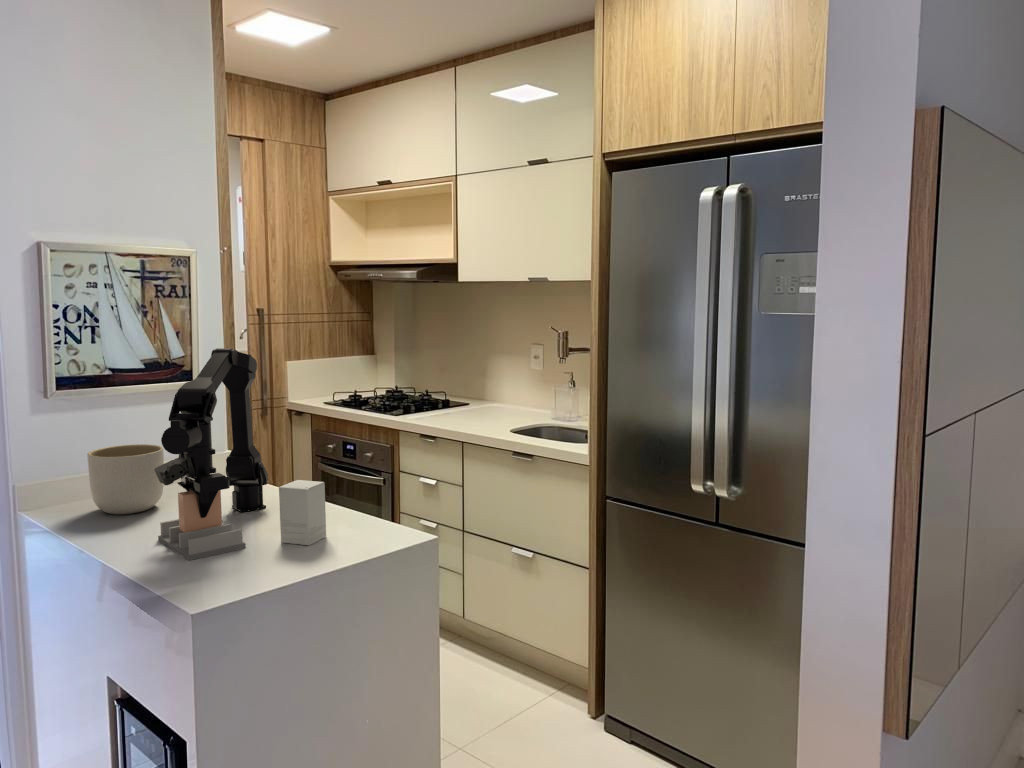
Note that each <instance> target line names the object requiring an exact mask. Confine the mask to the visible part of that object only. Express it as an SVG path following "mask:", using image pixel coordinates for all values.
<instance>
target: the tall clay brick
mask: <svg viewBox="0 0 1024 768" xmlns="http://www.w3.org/2000/svg"><path fill="white" fill-rule="evenodd" d="M221 493H222V491H221V490H219V491H218V493H217V495H216V497H215V499H214V501H213V503H212V505H211V507H210V509H209V512H208V514H207V516H206V517H204V518H201V517H200V513H199V508H198V503H197V498H196V495H195V494H194V493H193V492H191V491H183V492H182V491H181V492H177V500H178V501H177V503H178V505H177V506H178V519H179V528H180V530H181V531H183V532H189V531H194V530H199V529H204V528H209V527H214V526H219V525H223V519H222V518H223V517H222V495H221Z"/></svg>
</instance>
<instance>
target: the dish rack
mask: <svg viewBox="0 0 1024 768" xmlns="http://www.w3.org/2000/svg"><path fill="white" fill-rule="evenodd" d="M232 524H233V523H227V524H222V525H219V526H214V527H209V528H204V529H199V530H194V531H189V532H183V531H181V530H180V528H179V518H177V519H172V520H171V519H170V520H166V521H161V522H160V534H159V535H157V539H158V541H159V542H160V543H162V544H163V545H165V546H166V547H168V548H169V549H170V550H173V551H174V552H175V553H176V554H178V555H179V556H180V557H182V558H184V559H185V560H187V561H193V560H198V559H201V558H202V559H203V558H207V557H211V556H215V555H216V556H217V555H221V554H225V553H228V552H233V551H238V550H242V549H243V550H244V549H246V542H244V541H243V529H241V528H239V529H233V528H232V526H233V525H232Z"/></svg>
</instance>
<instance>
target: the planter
mask: <svg viewBox="0 0 1024 768" xmlns="http://www.w3.org/2000/svg"><path fill="white" fill-rule="evenodd" d="M164 457H165V455H164V447H163V446H161V445H157V444H145V443H144V444H143V443H142V444H140V443H139V444H135V443H134V444H122V445H120V444H119V445H114V446H107V447H100V448H97V449H92V450H91V451H89V452H88V453H87V463H88V464H87V467H88V478H89V487H90V488H89V489H90V494H91V497H92V501H93V503H94V505H95V506H96V507H97V508H98V509H100V510H101V511H103V512H104V513H107V514H110V515H130V514H131V515H132V514H137V513H141V512H145V511H147V510H150V509H152V508H153V507H154V506H155V505H157V503H158V502H159V501H160V500H161V498H162V496H163V493H164V486H165V485H164V484H163V483H160V481H159V479H158V477H157V475H156V473H155V471H154V469H155V468H157V467H159V466H161V465H163V464H165V460H164Z"/></svg>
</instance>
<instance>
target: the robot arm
mask: <svg viewBox="0 0 1024 768" xmlns="http://www.w3.org/2000/svg"><path fill="white" fill-rule="evenodd" d="M257 370H258V363H257V360H256V358H254V357H253V356H252V354H248V353H243V352H240V351H238V350H236V349H233V348H228V347H227V348H221V347H220V348H214V349H212V351H211V354H210V357H209V359H208V361H206V363H205V364H204V366H203V368H202V369H201V370H200V372H199V373H198V375H197V376H196V377H195V378H194V379H192V380H190V381H187V382H185V383H184V384H182V385H181V387H179V388H178V389H177V392H176V393H175V395H174V398H173V401H172V405H171V409H170V413H169V416H168V421H169V422H170V426H169V427H168V428H166V429H165V430H164V431H163V433H162V435H161V439H160V440H161V441H160V442H161V445H162V447H163V450H165V451H166V452H167V453H169V454H172V455H178V457H176V458H174V459H171V460H169V461H167V462H164V464H163V465H161V466H159V467H157V468H155V469H154V471H155V473H156V475H157V477H158V479H159V481H160V483H163V484H164V486H169V485H172V484H173V483H174V482H175V481H177V480H179V479H180V481H178V482H177V483H176V484H177V485H179V486H180V487H182V488H183V489H184V490H186V491H185V492H187V491H191V492H193V493H194V494H195V495H196V498H197V503H198V508H199V513H200V517H201V518H204V517H206V516H207V514H208V512H209V509H210V507H211V505H212V503H213V501H214V499H215V497H216V495H217V493H218V491H219V490H228V489H230V487H232V486H233V491H232V492H231V495H232V496H231V499H232V504H231V508H232V509H234V510H236V511H239V512H241V513H244V512H250V511H256V510H260V509H261V510H262V509H266V508H267V505H265V504H264V496H263V495H264V494H263V493H264V491H263V488H264V487H263V486H266V485H268V480H269V477H268V476H269V474H268V471H267V469H266V468H265V465H264V463H263V462H262V456H261V453H260V452H259V450H258V448H257V447H255V445H254V440H253V439H254V438H253V423H252V421H253V420H252V407H251V396H250V395H251V393H250V389H251V386H252V385H253V383H254V381H255V380H256V373H257ZM222 384H223V385H224V386H225V388H226V389H227V390H228V393H229V406H230V407H229V408H230V409H229V410H230V420H231V435H232V450H231V451H230V453H229V454H228V456H227V457H226V459H225V462H226V465H225V474H226V475H224V474H222V473H219V472H217V468H216V467H214V466H213V464H214V463H213V455H216V449H215V448H213V446H212V442H213V441H212V421H213V420H214V418H213V413H214V412H215V409H216V406H217V403H218V398H217V394H216V393H217V392H216V391H217V390H218V389H219V387H220V385H222Z"/></svg>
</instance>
